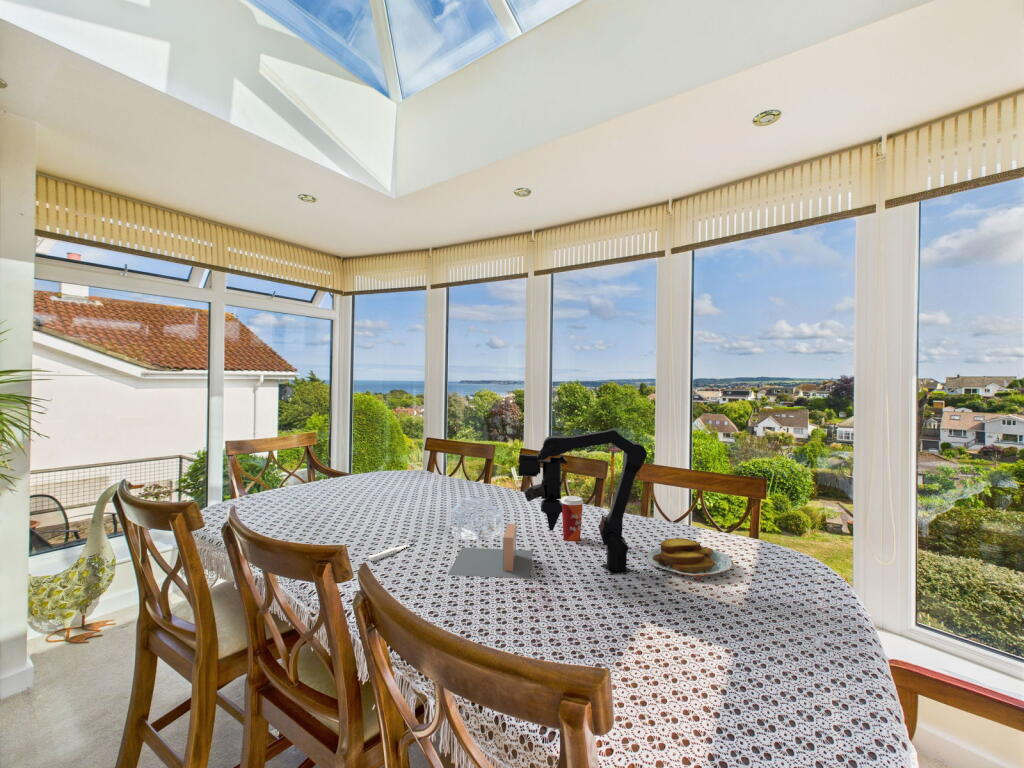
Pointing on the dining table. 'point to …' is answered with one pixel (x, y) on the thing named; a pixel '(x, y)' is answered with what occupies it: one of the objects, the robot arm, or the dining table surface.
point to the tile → (509, 547)
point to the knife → (386, 553)
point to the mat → (490, 563)
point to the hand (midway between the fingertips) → (551, 527)
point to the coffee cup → (572, 517)
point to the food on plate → (689, 558)
